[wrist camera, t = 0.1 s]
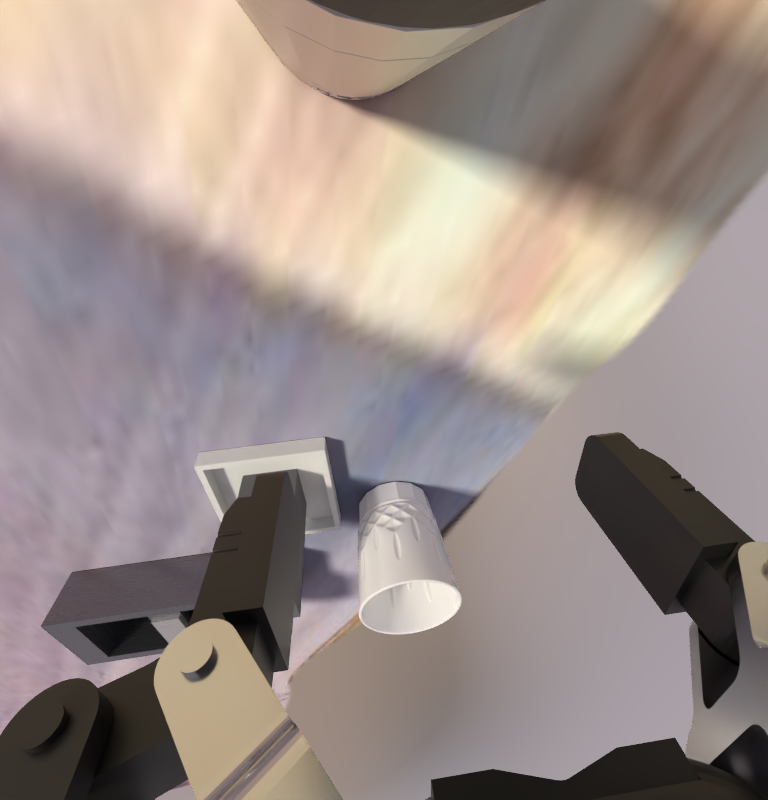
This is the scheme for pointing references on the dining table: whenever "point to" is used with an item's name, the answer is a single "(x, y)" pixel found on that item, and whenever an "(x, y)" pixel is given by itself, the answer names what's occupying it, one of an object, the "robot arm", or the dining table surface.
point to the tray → (307, 456)
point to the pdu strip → (126, 608)
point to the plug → (301, 505)
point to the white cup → (402, 562)
